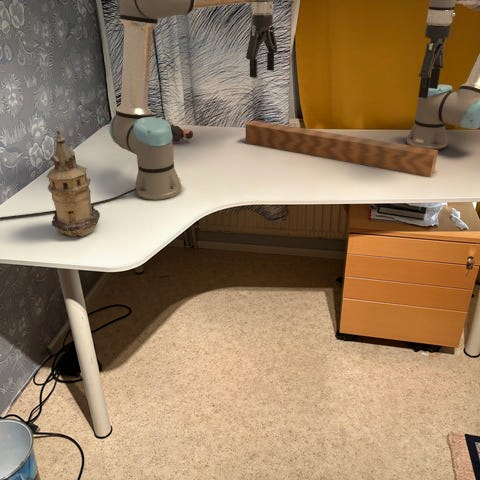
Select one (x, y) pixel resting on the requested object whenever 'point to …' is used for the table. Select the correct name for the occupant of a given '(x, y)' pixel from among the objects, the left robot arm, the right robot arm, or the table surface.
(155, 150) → the left robot arm
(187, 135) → the toy
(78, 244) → the table surface
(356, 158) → the beam
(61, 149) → the miniature building
